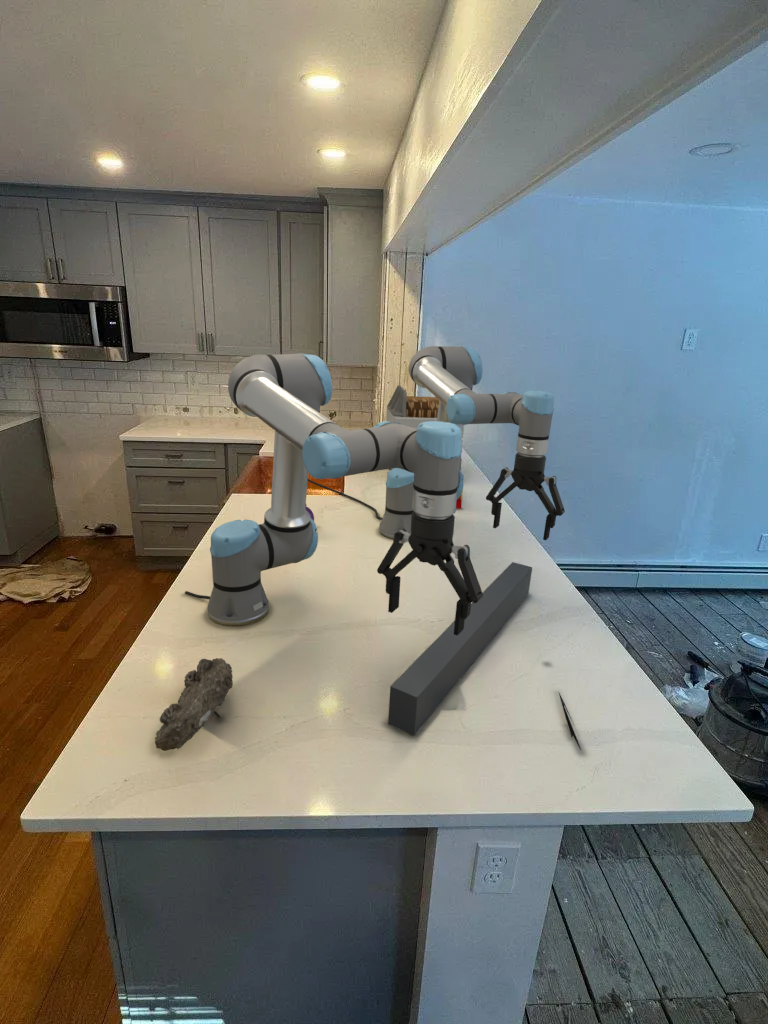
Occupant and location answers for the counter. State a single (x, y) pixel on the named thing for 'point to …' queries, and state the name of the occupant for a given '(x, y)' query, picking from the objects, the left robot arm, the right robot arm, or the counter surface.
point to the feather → (569, 721)
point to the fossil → (195, 703)
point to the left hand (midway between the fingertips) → (425, 620)
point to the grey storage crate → (413, 410)
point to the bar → (455, 651)
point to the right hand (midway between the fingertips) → (520, 532)
